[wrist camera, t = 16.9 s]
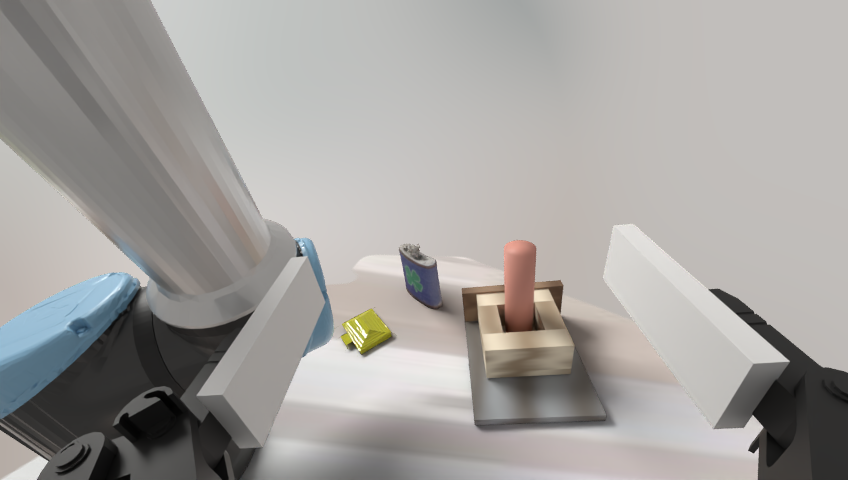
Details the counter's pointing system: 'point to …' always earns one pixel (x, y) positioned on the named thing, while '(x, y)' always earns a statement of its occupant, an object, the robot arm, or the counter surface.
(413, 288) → the flask
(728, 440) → the counter surface
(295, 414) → the counter surface
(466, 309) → the grey fixture base
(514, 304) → the dowel
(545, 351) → the socket block
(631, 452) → the counter surface
